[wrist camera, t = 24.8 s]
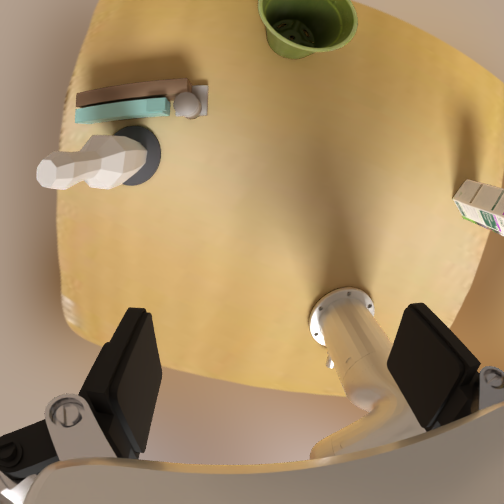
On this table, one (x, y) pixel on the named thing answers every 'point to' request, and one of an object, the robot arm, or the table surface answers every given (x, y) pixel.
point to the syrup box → (481, 205)
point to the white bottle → (93, 163)
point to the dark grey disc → (152, 149)
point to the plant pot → (308, 25)
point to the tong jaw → (123, 110)
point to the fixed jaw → (152, 95)
